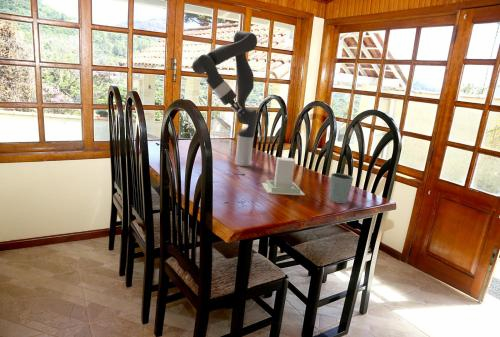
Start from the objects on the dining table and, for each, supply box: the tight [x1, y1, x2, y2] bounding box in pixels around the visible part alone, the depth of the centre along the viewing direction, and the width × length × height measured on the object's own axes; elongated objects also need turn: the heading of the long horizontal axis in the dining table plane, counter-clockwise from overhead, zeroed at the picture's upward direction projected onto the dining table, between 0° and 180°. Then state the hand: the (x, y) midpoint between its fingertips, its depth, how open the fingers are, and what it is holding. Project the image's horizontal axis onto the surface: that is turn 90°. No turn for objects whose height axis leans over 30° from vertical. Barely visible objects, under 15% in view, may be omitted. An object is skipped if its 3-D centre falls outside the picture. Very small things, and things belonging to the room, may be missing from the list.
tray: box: [261, 179, 306, 196], centre depth 171 cm, size 14×18×3 cm
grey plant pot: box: [328, 172, 354, 204], centre depth 164 cm, size 10×10×12 cm
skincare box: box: [273, 156, 296, 188], centre depth 169 cm, size 8×6×15 cm
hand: (245, 119), depth 173 cm, fingers open, 8 cm apart
